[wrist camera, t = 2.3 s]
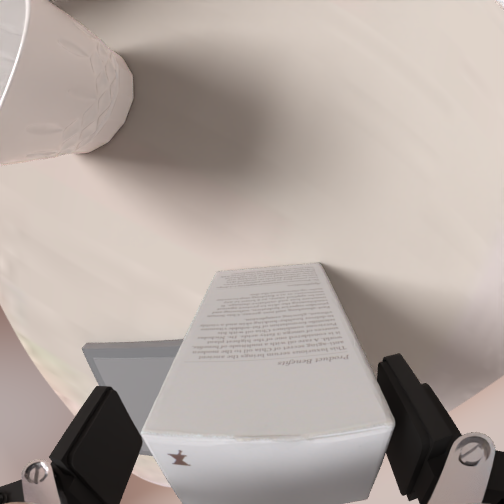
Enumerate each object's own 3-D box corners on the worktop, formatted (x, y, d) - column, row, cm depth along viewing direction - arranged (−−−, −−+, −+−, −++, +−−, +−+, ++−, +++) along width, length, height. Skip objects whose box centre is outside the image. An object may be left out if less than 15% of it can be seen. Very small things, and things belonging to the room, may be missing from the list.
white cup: (85, 188, 17) (-44, 218, 7) (28, 116, 15) (-84, 111, 6) (170, 88, 15) (64, 19, 5) (98, 25, 14) (0, -35, 4)
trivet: (244, 333, 18) (243, 341, 17) (271, 450, 21) (271, 458, 20) (86, 343, 20) (80, 349, 19) (141, 448, 23) (138, 455, 22)
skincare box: (225, 334, 18) (178, 508, 7) (215, 269, 17) (130, 430, 6) (325, 327, 18) (370, 502, 6) (323, 260, 17) (400, 420, 5)
